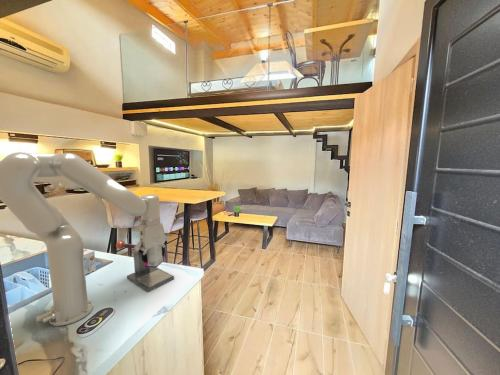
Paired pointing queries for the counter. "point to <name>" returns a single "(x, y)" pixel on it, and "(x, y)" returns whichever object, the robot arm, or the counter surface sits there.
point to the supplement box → (154, 256)
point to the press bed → (148, 275)
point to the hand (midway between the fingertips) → (153, 258)
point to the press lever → (125, 245)
